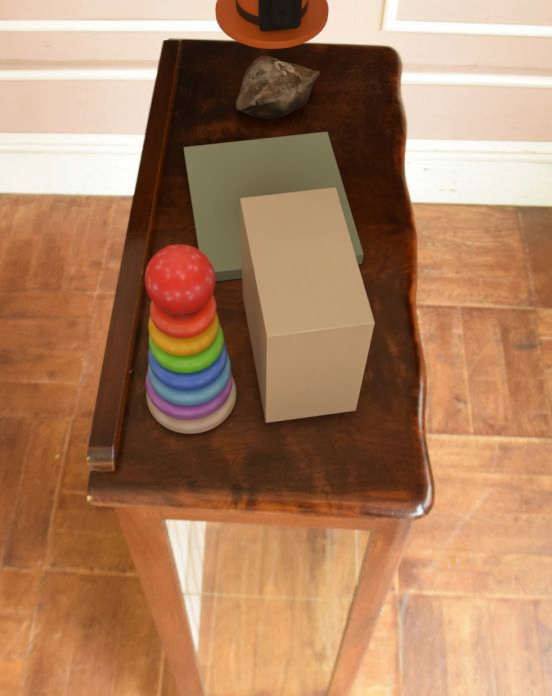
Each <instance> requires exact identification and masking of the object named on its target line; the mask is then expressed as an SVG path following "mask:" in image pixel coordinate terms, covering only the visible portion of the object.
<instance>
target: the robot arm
mask: <svg viewBox="0 0 552 696" xmlns="http://www.w3.org/2000/svg"><path fill="white" fill-rule="evenodd" d="M301 9H302V0H258V24H259V28H260V30H261V31H275V30H285V29H296V28H298V27H299V26H300V24H301Z"/></svg>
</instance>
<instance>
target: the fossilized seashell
mask: <svg viewBox="0 0 552 696" xmlns="http://www.w3.org/2000/svg"><path fill="white" fill-rule="evenodd" d="M320 75H321V74H320V71H319V70H314V69H313V70H312V69H310V68H308V67H306V66H303V65H299V64H297V63H292V62H288V61H281V60H279V59H277V58H275V57H273V56H272V55H261V56H259V57H257V58H255V59H254V61H252V62H251V64H250V65H249V66H248V67H247V68H246V70H245V72H244V74H243V78H242V82H241V86H240V89H239V93H238V95H237V98H236V100H235V105H234V106H235V109H236V111H238V112H241V113H243V114H246V115H248V116H250V117H253V118H255V119H262V120H273V119H279V118H281V117H285V116H287V115H289V114H291V113H292V112H293V111H295V110H298V109H299V110H300V109H301V108H302V107H303V106H305V105H306V104H307V103H308V101H309V98H310V97H311V96H310V95H311V92H312V90H313V89H312V88H313V86H314V83H315V82H316V81H317V79H318V78H319V77H320Z"/></svg>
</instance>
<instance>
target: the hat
mask: <svg viewBox="0 0 552 696" xmlns="http://www.w3.org/2000/svg"><path fill="white" fill-rule="evenodd" d="M214 9H215V11H214V12H215V20H216V23H217V25H218V26H219V28H220V30H221V32H223V33H224V34H225V35H226V36H227V37H229V38H230V39H231V40H234V41H235V42H237V43H240V44H243V45H245V46H248V47H252V48H257V49H263V50H264V49H266V50H277V49H279V50H280V49H288V48H293V47H296V46H299V45H300V46H301V45H302V44H306V43H307V42H310V40H313V39H314V38H316V37H317V36H318V35H319V34H320V33H321V32H322V31H323V30H324V29H325V27H326V25H327V23H328V19H329V13H330V12H329V11H330V9H329V3H328V0H302V9H301V24H300V26H299V27H298V28H296V29H285V30H275V31H261V30H260V28H259V24H258V0H216V2H215V7H214Z"/></svg>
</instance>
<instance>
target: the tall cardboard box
mask: <svg viewBox="0 0 552 696" xmlns="http://www.w3.org/2000/svg"><path fill="white" fill-rule="evenodd" d="M240 218H241V253H242V278H241V285H242V300H243V305H244V312H245V316H246V317H245V318H246V322H247V328H248V334H249V340H250V344H251V350H252V355H253V362H254V366H255V372H256V377H257V385H258V388H259V395H260V400H261V406H262V410H263V416H264V422H265V423H267V424H268V423H275V422H281V421H283V422H284V421H290V420H298V419H305V418H311V417H312V418H313V417H319V416H326V415H327V416H328V415H335V414H341V413H347V412H356V411H357V407H358V402H359V398H360V393H361V389H362V383H363V379H364V375H365V370H366V365H367V361H368V355H369V351H370V346H371V343H372V342H371V341H372V337H373V333H374V328H375V324H376V322H375V319H374V315H373V312H372V308H371V304H370V301H369V297H368V295H367V290H366V288H365V287H366V286H365V284H364V280H363V277H362V273H361V270H360V267H359V264H358V263H357V259H356V256H355V252H354V249H353V245H352V242H351V238H350V235H349V231H348V228H347V224H346V221H345V217H344V214H343V211H342V207H341V204H340V200H339V197H338V193H337V190H336V187H333V188H324V189H316V190H307V191H298V192H289V193H281V194H272V195H263V196H254V197H246V198H240Z"/></svg>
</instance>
